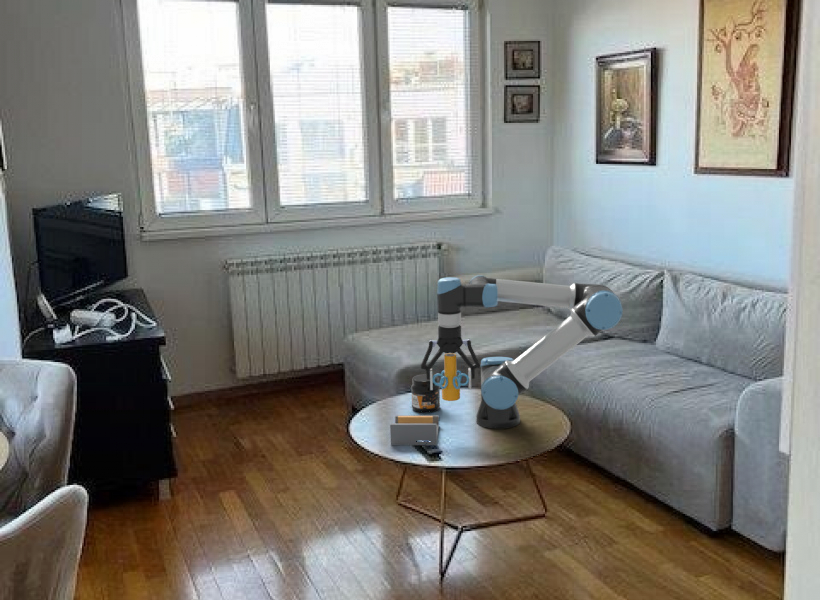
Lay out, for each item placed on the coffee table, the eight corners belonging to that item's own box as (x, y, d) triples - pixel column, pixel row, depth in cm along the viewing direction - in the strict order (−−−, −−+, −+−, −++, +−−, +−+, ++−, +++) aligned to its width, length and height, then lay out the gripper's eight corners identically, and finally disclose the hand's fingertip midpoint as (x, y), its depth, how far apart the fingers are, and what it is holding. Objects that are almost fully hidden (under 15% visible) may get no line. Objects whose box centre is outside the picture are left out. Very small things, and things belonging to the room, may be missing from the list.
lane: (438, 426, 292) (438, 407, 290) (436, 445, 274) (436, 424, 273) (395, 426, 293) (395, 407, 291) (390, 445, 275) (390, 424, 274)
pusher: (433, 432, 284) (432, 415, 283) (432, 434, 283) (432, 417, 282) (398, 432, 285) (398, 416, 284) (398, 434, 284) (397, 417, 283)
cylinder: (431, 403, 276) (430, 359, 273) (433, 393, 286) (432, 350, 283) (469, 403, 274) (468, 359, 272) (469, 393, 285) (469, 350, 282)
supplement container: (410, 413, 306) (409, 381, 303) (413, 404, 316) (412, 373, 314) (438, 413, 304) (438, 382, 302) (441, 404, 315) (440, 373, 312)
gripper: (486, 321, 279) (486, 384, 283) (412, 323, 279) (414, 385, 283) (487, 326, 271) (488, 391, 276) (412, 328, 272) (414, 392, 276)
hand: (450, 388), depth 279 cm, fingers closed on cylinder, 12 cm apart
